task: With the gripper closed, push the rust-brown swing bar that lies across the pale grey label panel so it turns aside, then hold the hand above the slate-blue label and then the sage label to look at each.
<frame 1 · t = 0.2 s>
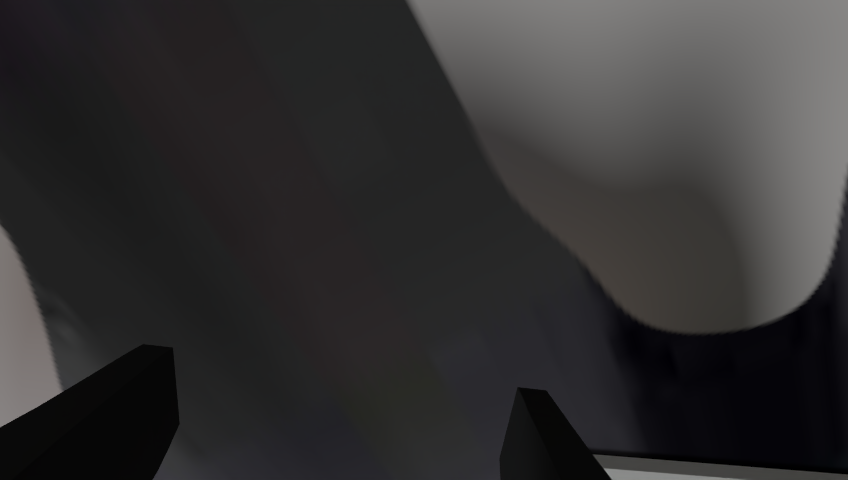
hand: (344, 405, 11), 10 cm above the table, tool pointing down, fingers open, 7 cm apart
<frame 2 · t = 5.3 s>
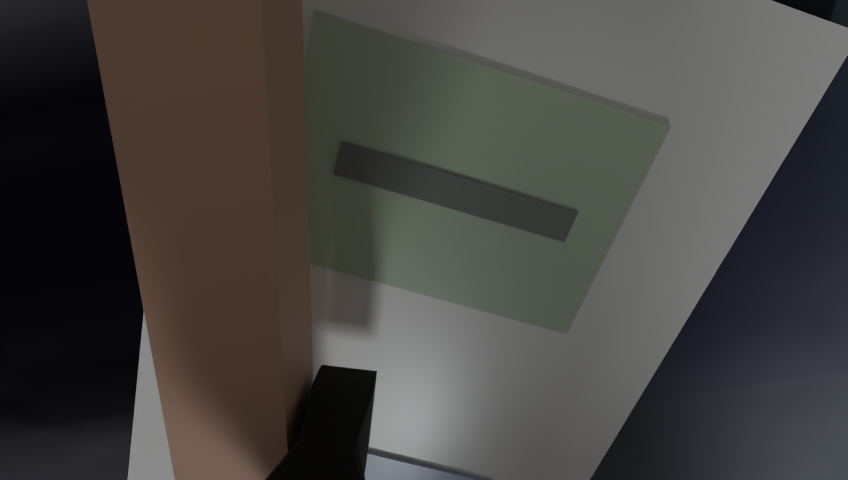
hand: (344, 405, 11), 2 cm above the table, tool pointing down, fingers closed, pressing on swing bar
swing bar: (270, 464, 11), point 3 cm above the table, hinge at 13.4°, touching gripper
label panel: (402, 333, 13), on the table
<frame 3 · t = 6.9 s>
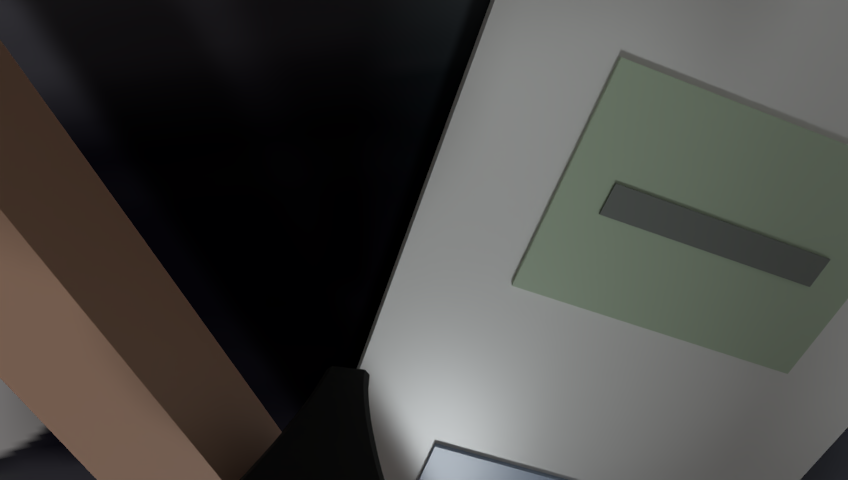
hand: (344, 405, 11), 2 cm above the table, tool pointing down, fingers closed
label panel: (606, 364, 13), on the table
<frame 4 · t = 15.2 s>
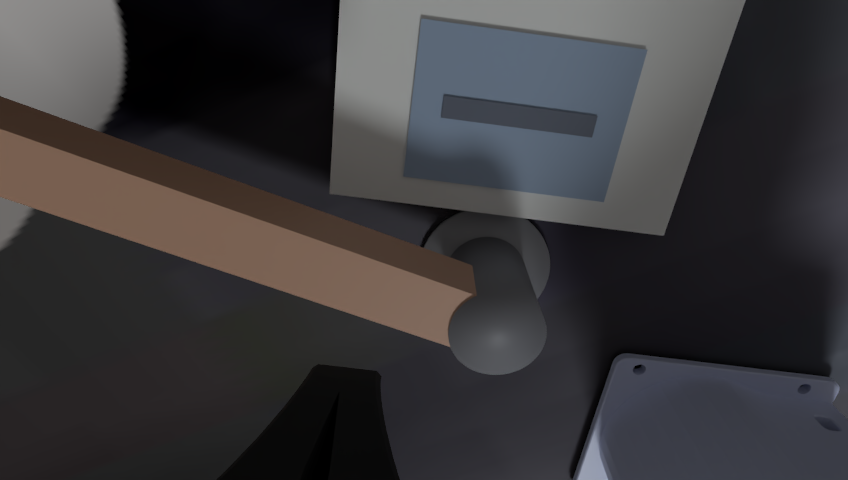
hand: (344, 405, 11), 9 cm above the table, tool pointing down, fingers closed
swing bar: (217, 205, 16), point 3 cm above the table, hinge at 76.1°
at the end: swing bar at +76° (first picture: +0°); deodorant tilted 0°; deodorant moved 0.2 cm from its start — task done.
